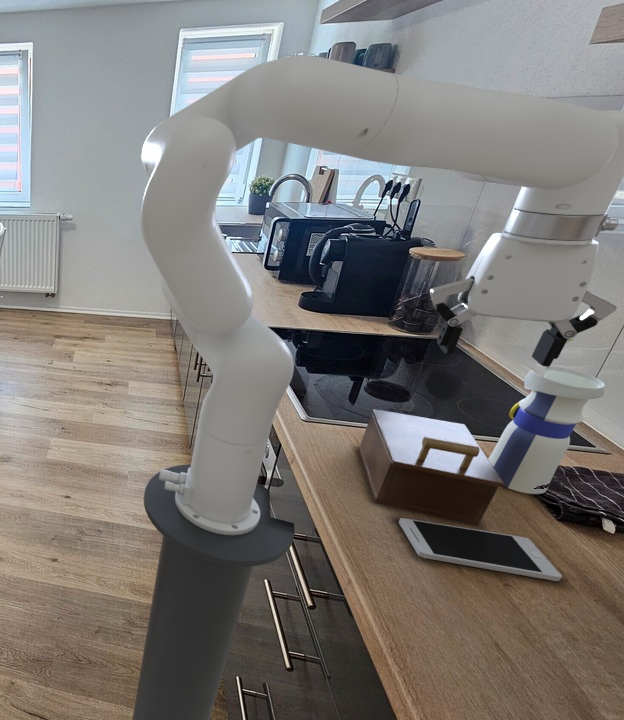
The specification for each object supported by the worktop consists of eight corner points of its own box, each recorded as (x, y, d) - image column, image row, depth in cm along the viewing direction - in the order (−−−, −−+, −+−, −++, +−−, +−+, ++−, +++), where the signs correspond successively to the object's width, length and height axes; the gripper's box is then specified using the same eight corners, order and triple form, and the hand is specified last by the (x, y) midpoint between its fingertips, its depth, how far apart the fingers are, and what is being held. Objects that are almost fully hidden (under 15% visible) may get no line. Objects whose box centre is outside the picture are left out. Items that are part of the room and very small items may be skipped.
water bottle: (465, 467, 86) (528, 335, 75) (502, 459, 87) (570, 328, 77) (521, 499, 79) (600, 357, 68) (561, 489, 80) (645, 349, 69)
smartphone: (560, 582, 65) (564, 577, 64) (419, 557, 69) (421, 552, 68) (525, 542, 71) (528, 537, 70) (397, 521, 75) (399, 516, 75)
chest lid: (502, 487, 70) (516, 461, 68) (392, 465, 75) (402, 440, 73) (463, 428, 83) (473, 404, 81) (371, 412, 88) (379, 390, 86)
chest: (478, 525, 74) (499, 484, 71) (375, 502, 79) (391, 462, 76) (445, 465, 86) (463, 428, 83) (358, 448, 92) (371, 412, 88)
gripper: (634, 224, 58) (565, 355, 66) (447, 217, 65) (404, 336, 73) (678, 237, 52) (597, 380, 60) (466, 228, 59) (417, 357, 67)
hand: (491, 356), depth 66 cm, fingers open, 9 cm apart
